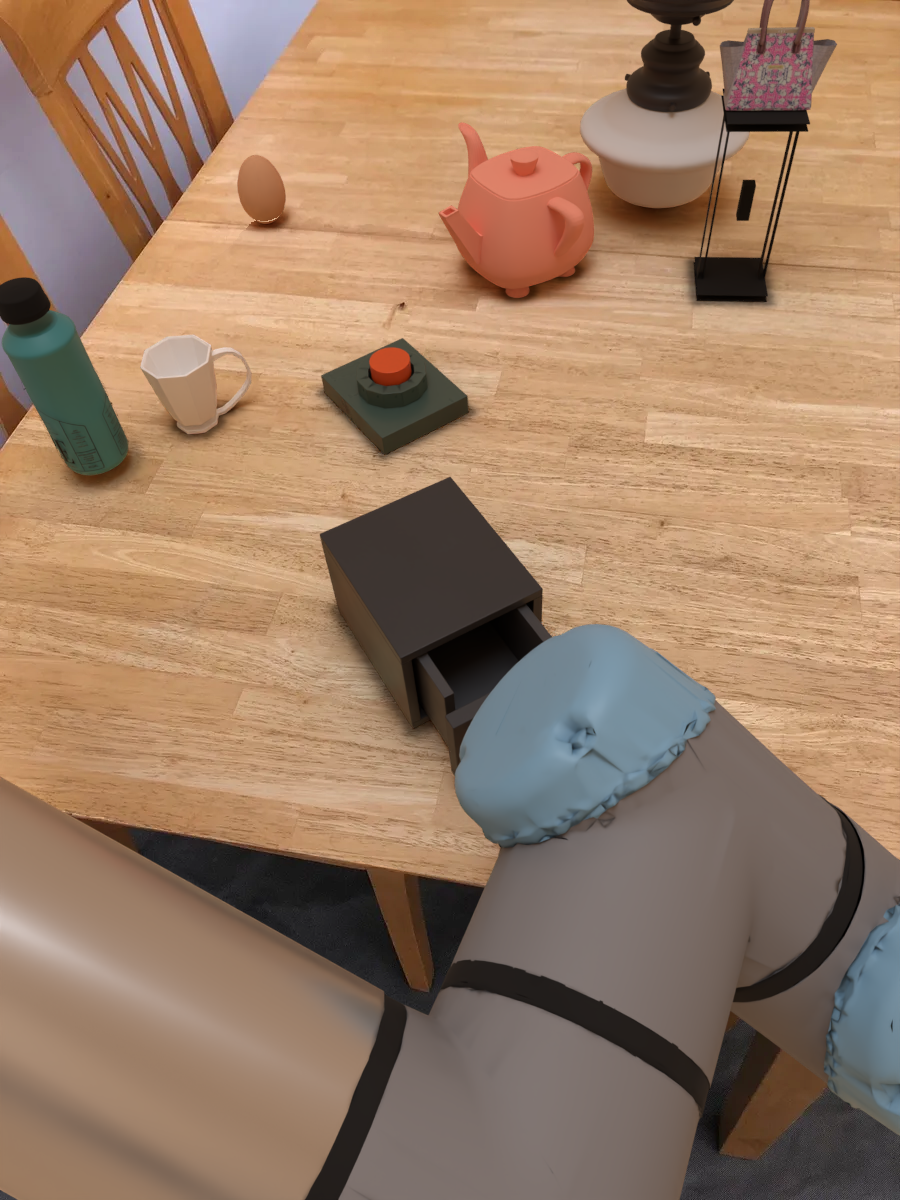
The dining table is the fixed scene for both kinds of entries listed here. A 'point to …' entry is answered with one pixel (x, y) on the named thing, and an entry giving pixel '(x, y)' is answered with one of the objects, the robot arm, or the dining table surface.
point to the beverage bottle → (60, 379)
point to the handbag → (761, 104)
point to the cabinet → (422, 581)
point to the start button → (390, 366)
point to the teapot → (522, 214)
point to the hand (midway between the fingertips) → (504, 762)
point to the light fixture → (663, 116)
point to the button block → (395, 399)
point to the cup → (189, 380)
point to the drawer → (472, 671)
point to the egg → (261, 189)
